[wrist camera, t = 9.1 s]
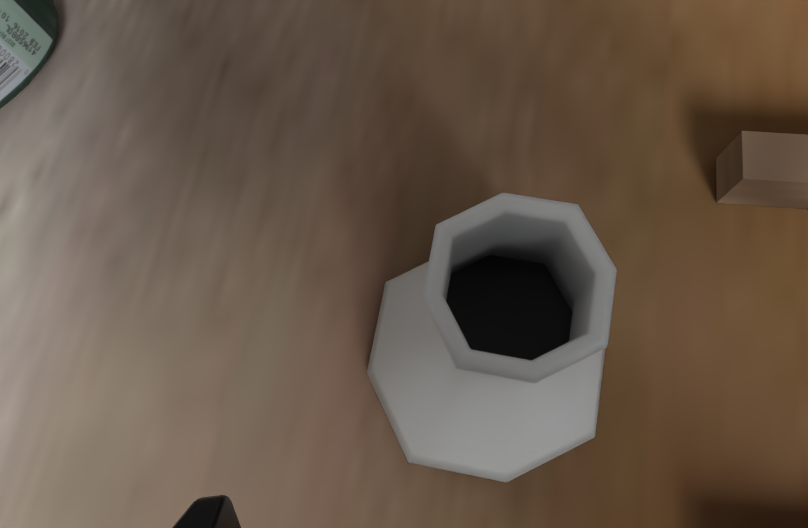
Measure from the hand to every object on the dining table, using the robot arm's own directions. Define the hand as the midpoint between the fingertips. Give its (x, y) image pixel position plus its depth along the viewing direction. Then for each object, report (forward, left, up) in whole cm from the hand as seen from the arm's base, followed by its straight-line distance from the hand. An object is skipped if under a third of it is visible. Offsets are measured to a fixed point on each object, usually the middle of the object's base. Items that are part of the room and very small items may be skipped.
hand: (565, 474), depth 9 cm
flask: (+2, +2, -12) cm, 12 cm away
